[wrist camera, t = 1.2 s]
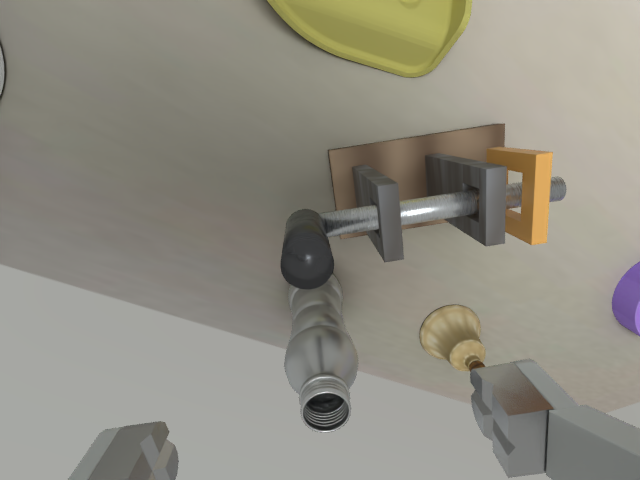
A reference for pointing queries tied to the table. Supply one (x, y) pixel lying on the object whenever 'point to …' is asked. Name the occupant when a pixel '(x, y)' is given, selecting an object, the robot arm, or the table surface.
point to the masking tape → (628, 300)
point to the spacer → (527, 191)
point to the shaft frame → (423, 182)
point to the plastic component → (380, 30)
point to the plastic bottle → (321, 356)
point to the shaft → (372, 228)
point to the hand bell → (454, 337)
